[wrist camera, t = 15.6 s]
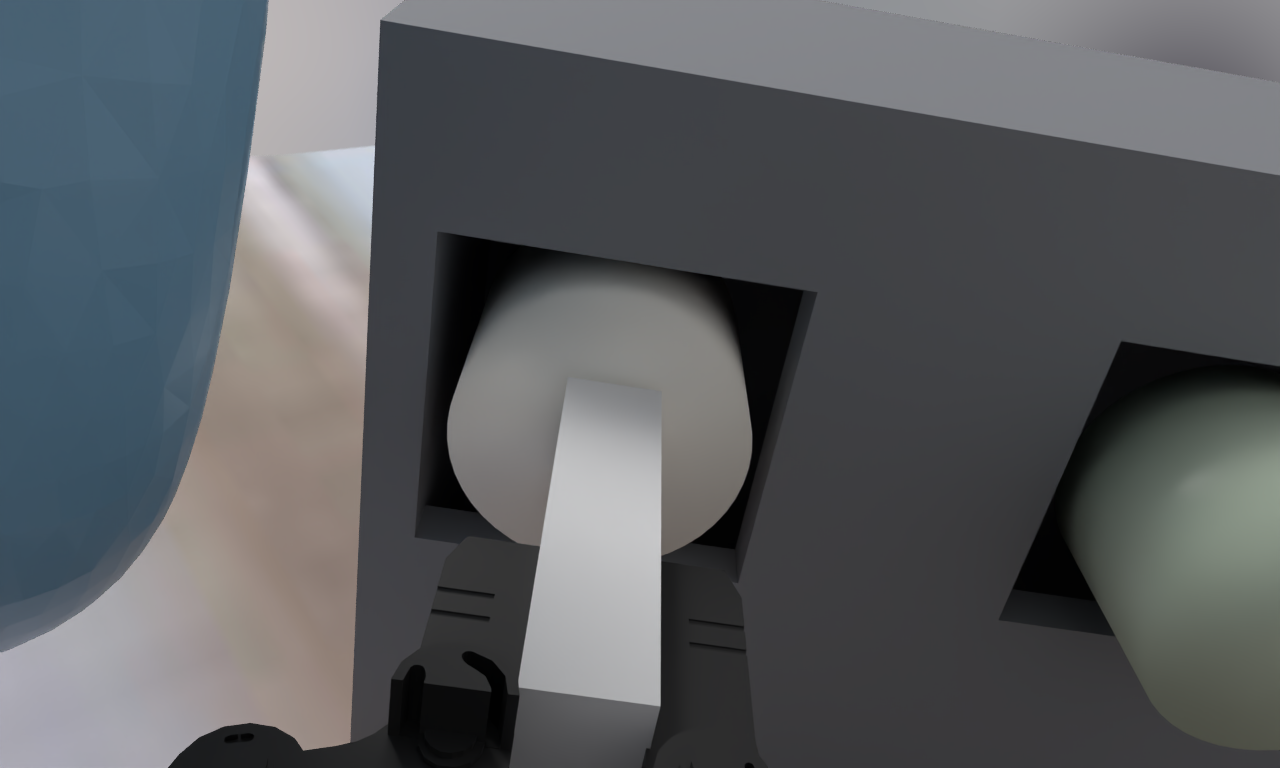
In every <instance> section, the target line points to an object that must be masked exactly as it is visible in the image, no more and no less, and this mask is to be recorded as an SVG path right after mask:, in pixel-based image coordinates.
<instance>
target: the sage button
mask: <svg viewBox="0 0 1280 768" xmlns="http://www.w3.org/2000/svg"><path fill="white" fill-rule="evenodd" d="M1055 513H1056V520H1057V524H1058V527H1059V530H1060V533H1061V535H1062V537H1063V539H1064V541H1065V543H1066V544H1067V546H1068V548H1069V550H1070V552H1071V554H1072V556H1073V557H1074V559H1075V561H1076V563H1077V565H1078V567H1079V569H1080V571H1081V572H1082V574H1083V576H1084V578H1085V580H1086V582H1087V584H1088V586H1089V587H1090V589H1091V591H1092V593H1093V595H1094V597H1095V599H1096V600H1097V602H1098V604H1099V606H1100V608H1101V610H1102V612H1103V614H1104V615H1105V617H1106V619H1107V621H1108V623H1109V625H1110V627H1111V628H1112V630H1113V632H1114V634H1115V636H1116V638H1117V640H1118V642H1119V643H1120V645H1121V647H1122V649H1123V651H1124V653H1125V655H1126V657H1127V658H1128V660H1129V662H1130V664H1131V666H1132V668H1133V670H1134V671H1135V673H1136V675H1137V677H1138V679H1139V681H1140V683H1141V685H1142V686H1143V688H1144V690H1145V692H1146V694H1147V696H1148V698H1149V699H1150V701H1151V703H1152V704H1153V706H1154V707H1155V708H1156V709H1157V711H1158V712H1159V713H1160V714H1161V715H1162V716H1163V717H1164V718H1165V719H1166V720H1168V721H1169V722H1170V723H1171V724H1172V725H1174V726H1175V727H1177V728H1178V729H1180V730H1182V731H1183V732H1185V733H1187V734H1189V735H1191V736H1193V737H1196V738H1198V739H1200V740H1203V741H1206V742H1209V743H1212V744H1216V745H1219V746H1225V747H1230V748H1235V749H1246V750H1280V374H1279V373H1277V372H1274V371H1271V370H1267V369H1263V368H1258V367H1254V366H1243V365H1213V366H1206V367H1198V368H1193V369H1189V370H1185V371H1181V372H1177V373H1174V374H1171V375H1168V376H1165V377H1162V378H1159V379H1157V380H1155V381H1152V382H1150V383H1148V384H1146V385H1144V386H1142V387H1139V388H1138V389H1136V390H1134V391H1133V392H1131V393H1129V394H1128V395H1126V396H1124V397H1122V398H1121V399H1120V400H1118V401H1117V402H1116V403H1114V404H1113V405H1111V406H1110V407H1109V408H1107V409H1106V410H1105V411H1104V412H1103V413H1102V414H1101V415H1100V416H1098V417H1097V418H1096V419H1095V420H1094V421H1093V422H1092V423H1091V424H1090V425H1089V426H1088V428H1087V429H1086V430H1085V431H1084V432H1083V433H1082V434H1081V436H1080V437H1079V438H1078V440H1077V443H1076V445H1075V447H1074V449H1073V452H1072V454H1071V456H1070V459H1069V461H1068V463H1067V465H1066V468H1065V470H1064V472H1063V474H1062V477H1061V479H1060V481H1059V483H1058V486H1057V488H1056V492H1055Z"/></svg>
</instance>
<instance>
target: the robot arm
mask: <svg viewBox="0 0 1280 768" xmlns="http://www.w3.org/2000/svg"><path fill="white" fill-rule="evenodd" d="M267 13H268V0H0V652H4V651H7V650H10V649H12V648H14V647H16V646H18V645H21V644H23V643H25V642H27V641H29V640H31V639H34V638H36V637H38V636H40V635H42V634H44V633H47V632H49V631H51V630H53V629H54V628H56V627H58V626H59V625H61V624H62V623H64V622H66V621H67V620H69V619H70V618H72V617H73V616H75V615H77V614H78V613H80V612H81V611H83V610H84V609H85V608H86V607H88V606H89V605H90V604H92V603H93V602H94V601H95V600H96V599H98V598H99V597H100V596H101V595H102V594H103V593H104V592H105V591H107V590H108V589H109V588H110V587H111V586H112V585H113V584H114V583H115V582H117V581H118V580H119V579H120V578H121V577H122V576H123V574H124V573H125V572H126V571H127V570H128V568H129V567H130V566H131V565H132V564H133V562H134V561H135V560H136V559H137V557H138V556H139V555H140V554H141V553H142V551H143V550H144V548H145V547H146V545H147V544H148V542H149V541H150V539H151V538H152V536H153V534H154V533H155V531H156V530H157V528H158V527H159V525H160V523H161V522H162V520H163V519H164V517H165V515H166V513H167V511H168V509H169V507H170V505H171V503H172V500H173V498H174V496H175V494H176V492H177V489H178V486H179V484H180V481H181V478H182V476H183V473H184V470H185V468H186V465H187V462H188V460H189V457H190V454H191V450H192V447H193V444H194V441H195V437H196V434H197V431H198V428H199V425H200V421H201V418H202V414H203V410H204V406H205V402H206V398H207V393H208V389H209V385H210V381H211V377H212V373H213V368H214V363H215V358H216V353H217V348H218V343H219V338H220V333H221V328H222V323H223V318H224V314H225V309H226V304H227V299H228V294H229V289H230V282H231V276H232V269H233V263H234V257H235V250H236V244H237V237H238V231H239V224H240V218H241V211H242V205H243V198H244V192H245V185H246V179H247V172H248V165H249V158H250V150H251V142H252V135H253V126H254V119H255V111H256V104H257V96H258V88H259V81H260V73H261V65H262V57H263V50H264V41H265V34H266V25H267ZM661 432H662V391H657V390H650V389H644V388H637V387H631V386H624V385H617V384H611V383H604V382H598V381H591V380H585V379H578V378H572V377H568V379H567V385H566V392H565V398H564V404H563V410H562V416H561V422H560V428H559V434H558V441H557V447H556V453H555V459H554V465H553V471H552V477H551V483H550V489H549V496H548V502H547V508H546V514H545V520H544V526H543V532H542V538H541V545H540V546H535V545H528V544H521V543H514V542H507V541H500V540H493V539H485V538H478V537H471V536H467V537H466V538H465V539H464V540H463V541H462V542H461V543H460V544H459V545H458V546H457V547H456V548H455V549H454V550H453V551H452V552H451V553H450V554H449V555H448V556H447V557H446V558H445V562H444V565H443V569H442V572H441V576H440V579H439V583H438V587H437V592H436V594H435V597H434V601H433V604H432V608H431V613H430V615H429V618H428V622H427V625H426V629H425V632H424V636H423V639H422V643H421V646H420V649H418V650H417V651H415V652H414V653H412V654H411V655H410V656H408V657H407V658H405V659H404V660H403V661H401V663H400V665H399V666H398V668H397V670H396V671H395V673H394V675H393V676H392V678H391V688H390V703H389V718H388V724H387V725H385V726H384V727H383V728H381V729H380V730H379V731H377V732H376V733H374V734H372V735H370V736H367V737H365V738H363V739H361V740H359V741H356V742H351V743H347V744H343V745H339V746H333V747H326V748H319V749H312V750H305V751H303V750H302V748H301V747H300V745H299V744H298V742H297V741H296V740H295V738H293V737H292V736H290V735H288V734H286V733H285V732H283V731H281V730H279V729H278V728H276V727H272V726H265V725H259V724H253V723H248V724H240V725H233V726H225V727H222V728H220V729H218V730H215V731H213V732H211V733H208V734H206V735H204V736H201V737H199V738H198V739H197V740H196V741H194V742H193V743H192V744H191V745H190V746H189V747H187V748H186V749H185V750H184V751H183V752H182V753H180V754H179V755H178V756H177V758H176V759H175V760H174V761H173V762H172V764H171V765H170V766H169V767H168V768H768V766H767V764H766V763H765V762H764V761H763V759H762V758H761V757H760V756H759V753H758V749H757V745H756V741H755V731H754V721H753V710H752V700H751V689H750V679H749V669H748V658H747V656H746V651H747V648H746V638H745V632H744V617H743V606H742V597H741V596H740V594H739V593H738V591H737V589H736V588H735V586H734V585H733V583H732V581H731V580H730V578H729V577H728V575H727V574H726V572H725V570H720V569H713V568H706V567H699V566H692V565H685V564H678V563H671V562H664V561H661Z"/></svg>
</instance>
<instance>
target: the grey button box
mask: <svg viewBox="0 0 1280 768" xmlns="http://www.w3.org/2000/svg"><path fill="white" fill-rule="evenodd" d="M522 245H526V246H532V247H538V248H544V249H551V250H557V251H563V252H569V253H576V254H582V255H588V256H594V257H601V258H607V259H613V260H619V261H625V262H632V263H638V264H644V265H650V266H657V267H663V268H669V269H675V270H682V271H688V272H694V273H700V274H707V275H713V276H719V277H722V278H723V280H724V282H725V284H726V286H727V288H728V290H729V293H730V295H731V298H732V302H733V305H734V309H735V314H736V321H737V328H738V335H739V342H740V350H741V357H742V364H743V371H744V378H745V385H746V392H747V400H748V407H749V414H750V421H751V429H752V454H751V459H750V465H749V469H748V472H747V475H746V478H745V481H744V484H743V486H742V487H741V489H740V491H739V493H738V495H737V497H736V499H735V500H734V502H733V503H732V504H731V506H730V507H729V509H728V510H727V511H726V513H725V514H724V515H723V516H722V517H721V518H720V519H719V520H718V521H717V522H716V523H715V524H714V525H713V526H712V527H711V528H710V529H708V530H707V531H706V532H705V533H703V534H702V535H701V536H700V537H698V538H696V539H695V540H693V541H692V542H690V543H688V544H687V545H685V546H683V547H681V548H679V549H677V550H675V551H672V552H670V553H668V554H665V555H662V556H661V561H664V562H671V563H678V564H685V565H692V566H699V567H706V568H713V569H720V570H725V572H726V574H727V575H728V577H729V578H730V580H731V581H732V583H733V585H734V586H735V588H736V589H737V591H738V593H739V594H740V596H741V597H742V606H743V617H744V632H745V638H746V648H747V651H746V656H747V658H748V669H749V679H750V689H751V700H752V710H753V721H754V731H755V741H756V745H757V749H758V753H759V756H760V757H761V758H762V759H763V761H764V762H765V763H766V764H767V766H768V768H1280V750H1246V749H1235V748H1230V747H1225V746H1219V745H1216V744H1212V743H1209V742H1206V741H1203V740H1200V739H1198V738H1196V737H1193V736H1191V735H1189V734H1187V733H1185V732H1183V731H1182V730H1180V729H1178V728H1177V727H1175V726H1174V725H1172V724H1171V723H1170V722H1169V721H1168V720H1166V719H1165V718H1164V717H1163V716H1162V715H1161V714H1160V713H1159V712H1158V711H1157V709H1156V708H1155V707H1154V706H1153V704H1152V703H1151V701H1150V699H1149V698H1148V696H1147V694H1146V692H1145V690H1144V688H1143V686H1142V685H1141V683H1140V681H1139V679H1138V677H1137V675H1136V673H1135V671H1134V670H1133V668H1132V666H1131V664H1130V662H1129V660H1128V658H1127V657H1126V655H1125V653H1124V651H1123V649H1122V647H1121V645H1120V643H1119V642H1118V640H1117V638H1116V636H1115V634H1114V632H1113V630H1112V628H1111V627H1110V625H1109V623H1108V621H1107V619H1106V617H1105V615H1104V614H1103V612H1102V610H1101V608H1100V606H1099V604H1098V602H1097V600H1096V599H1095V597H1094V595H1093V593H1092V591H1091V589H1090V587H1089V586H1088V584H1087V582H1086V580H1085V578H1084V576H1083V574H1082V572H1081V571H1080V569H1079V567H1078V565H1077V563H1076V561H1075V559H1074V557H1073V556H1072V554H1071V552H1070V550H1069V548H1068V546H1067V544H1066V543H1065V541H1064V539H1063V537H1062V535H1061V533H1060V530H1059V527H1058V524H1057V520H1056V513H1055V492H1056V488H1057V486H1058V483H1059V481H1060V479H1061V477H1062V474H1063V472H1064V470H1065V468H1066V465H1067V463H1068V461H1069V459H1070V456H1071V454H1072V452H1073V449H1074V447H1075V445H1076V443H1077V440H1078V438H1079V437H1080V436H1081V434H1082V433H1083V432H1084V431H1085V430H1086V429H1087V428H1088V426H1089V425H1090V424H1091V423H1092V422H1093V421H1094V420H1095V419H1096V418H1097V417H1098V416H1100V415H1101V414H1102V413H1103V412H1104V411H1105V410H1106V409H1107V408H1109V407H1110V406H1111V405H1113V404H1114V403H1116V402H1117V401H1118V400H1120V399H1121V398H1122V397H1124V396H1126V395H1128V394H1129V393H1131V392H1133V391H1134V390H1136V389H1138V388H1139V387H1142V386H1144V385H1146V384H1148V383H1150V382H1152V381H1155V380H1157V379H1159V378H1162V377H1165V376H1168V375H1171V374H1174V373H1177V372H1181V371H1185V370H1189V369H1193V368H1198V367H1206V366H1213V365H1243V366H1254V367H1258V368H1263V369H1267V370H1271V371H1274V372H1277V373H1279V374H1280V83H1279V82H1273V81H1268V80H1262V79H1256V78H1251V77H1245V76H1240V75H1234V74H1229V73H1223V72H1217V71H1212V70H1206V69H1200V68H1195V67H1189V66H1183V65H1178V64H1173V63H1167V62H1161V61H1155V60H1150V59H1145V58H1139V57H1133V56H1127V55H1122V54H1116V53H1111V52H1105V51H1100V50H1094V49H1089V48H1083V47H1077V46H1072V45H1066V44H1061V43H1055V42H1050V41H1044V40H1038V39H1032V38H1027V37H1021V36H1016V35H1010V34H1005V33H999V32H994V31H988V30H982V29H977V28H971V27H965V26H960V25H955V24H949V23H943V22H938V21H932V20H926V19H921V18H915V17H910V16H904V15H899V14H893V13H887V12H882V11H876V10H871V9H865V8H859V7H853V6H848V5H843V4H837V3H832V2H826V1H820V0H404V1H403V2H402V3H400V4H399V5H398V6H397V7H396V8H395V9H393V10H392V11H391V12H390V13H388V14H387V15H386V16H385V17H383V18H382V19H381V20H380V43H379V68H378V92H377V116H376V140H375V164H374V188H373V212H372V236H371V260H370V284H369V308H368V332H367V357H366V381H365V405H364V429H363V453H362V477H361V501H360V525H359V549H358V574H357V598H356V622H355V646H354V670H353V694H352V718H351V742H356V741H359V740H361V739H363V738H365V737H367V736H370V735H372V734H374V733H376V732H377V731H379V730H380V729H381V728H383V727H384V726H385V725H387V724H388V718H389V703H390V688H391V678H392V676H393V675H394V673H395V671H396V670H397V668H398V666H399V665H400V663H401V661H403V660H404V659H405V658H407V657H408V656H410V655H411V654H412V653H414V652H415V651H417V650H418V649H420V646H421V643H422V639H423V636H424V632H425V629H426V625H427V622H428V618H429V615H430V613H431V608H432V604H433V601H434V597H435V594H436V592H437V587H438V583H439V579H440V576H441V572H442V569H443V565H444V562H445V558H446V557H447V556H448V555H449V554H450V553H451V552H452V551H453V550H454V549H455V548H456V547H457V546H458V545H459V544H460V543H461V542H462V541H463V540H464V539H465V538H466V537H467V536H471V537H478V538H485V539H493V540H500V541H507V542H514V543H517V542H515V541H514V540H512V539H510V538H509V537H507V536H506V535H504V534H503V533H502V532H500V531H499V530H498V529H496V528H495V527H494V526H493V525H492V524H491V523H489V522H488V521H487V520H486V519H485V518H484V517H483V516H482V515H481V514H480V513H479V511H478V510H477V509H476V508H475V507H474V506H473V504H472V503H471V502H470V500H469V499H468V497H467V496H466V494H465V493H464V491H463V489H462V488H461V486H460V483H459V481H458V479H457V477H456V475H455V473H454V469H453V466H452V463H451V460H450V456H449V449H448V442H447V422H448V416H449V410H450V405H451V402H452V399H453V396H454V393H455V390H456V387H457V384H458V382H459V379H460V376H461V373H462V370H463V367H464V364H465V361H466V358H467V355H468V352H469V349H470V347H471V344H472V341H473V338H474V335H475V332H476V329H477V326H478V323H479V320H480V317H481V314H482V312H483V309H484V306H485V303H486V300H487V297H488V294H489V291H490V288H491V286H492V284H493V282H494V280H495V278H496V276H497V274H498V272H499V271H500V269H501V268H502V267H503V265H504V264H505V262H506V261H507V260H508V259H509V257H510V256H511V255H512V254H513V253H514V252H515V251H516V250H517V249H518V248H519V247H520V246H522ZM351 742H350V743H351Z"/></svg>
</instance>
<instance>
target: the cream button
mask: <svg viewBox="0 0 1280 768" xmlns="http://www.w3.org/2000/svg"><path fill="white" fill-rule="evenodd" d="M568 377H572V378H578V379H585V380H591V381H598V382H604V383H611V384H617V385H624V386H631V387H637V388H644V389H650V390H657V391H662V432H661V556H662V555H665V554H668V553H670V552H672V551H675V550H677V549H679V548H681V547H683V546H685V545H687V544H688V543H690V542H692V541H693V540H695V539H696V538H698V537H700V536H701V535H702V534H703V533H705V532H706V531H707V530H708V529H710V528H711V527H712V526H713V525H714V524H715V523H716V522H717V521H718V520H719V519H720V518H721V517H722V516H723V515H724V514H725V513H726V511H727V510H728V509H729V507H730V506H731V504H732V503H733V502H734V500H735V499H736V497H737V495H738V493H739V491H740V489H741V487H742V486H743V484H744V481H745V478H746V475H747V472H748V469H749V465H750V459H751V454H752V429H751V421H750V414H749V407H748V400H747V392H746V385H745V378H744V371H743V364H742V357H741V350H740V342H739V335H738V328H737V321H736V314H735V309H734V305H733V302H732V298H731V295H730V293H729V290H728V288H727V286H726V284H725V282H724V280H723V278H722V277H719V276H713V275H707V274H700V273H694V272H688V271H682V270H675V269H669V268H663V267H657V266H650V265H644V264H638V263H632V262H625V261H619V260H613V259H607V258H601V257H594V256H588V255H582V254H576V253H569V252H563V251H557V250H551V249H544V248H538V247H532V246H526V245H522V246H520V247H519V248H518V249H517V250H516V251H515V252H514V253H513V254H512V255H511V256H510V257H509V259H508V260H507V261H506V262H505V264H504V265H503V267H502V268H501V269H500V271H499V272H498V274H497V276H496V278H495V280H494V282H493V284H492V286H491V288H490V291H489V294H488V297H487V300H486V303H485V306H484V309H483V312H482V314H481V317H480V320H479V323H478V326H477V329H476V332H475V335H474V338H473V341H472V344H471V347H470V349H469V352H468V355H467V358H466V361H465V364H464V367H463V370H462V373H461V376H460V379H459V382H458V384H457V387H456V390H455V393H454V396H453V399H452V402H451V405H450V410H449V416H448V422H447V442H448V449H449V456H450V460H451V463H452V466H453V469H454V473H455V475H456V477H457V479H458V481H459V483H460V486H461V488H462V489H463V491H464V493H465V494H466V496H467V497H468V499H469V500H470V502H471V503H472V504H473V506H474V507H475V508H476V509H477V510H478V511H479V513H480V514H481V515H482V516H483V517H484V518H485V519H486V520H487V521H488V522H489V523H491V524H492V525H493V526H494V527H495V528H496V529H498V530H499V531H500V532H502V533H503V534H504V535H506V536H507V537H509V538H510V539H512V540H514V541H515V542H517V543H521V544H528V545H535V546H540V545H541V538H542V532H543V526H544V520H545V514H546V508H547V502H548V496H549V489H550V483H551V477H552V471H553V465H554V459H555V453H556V447H557V441H558V434H559V428H560V422H561V416H562V410H563V404H564V398H565V392H566V385H567V379H568Z"/></svg>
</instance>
